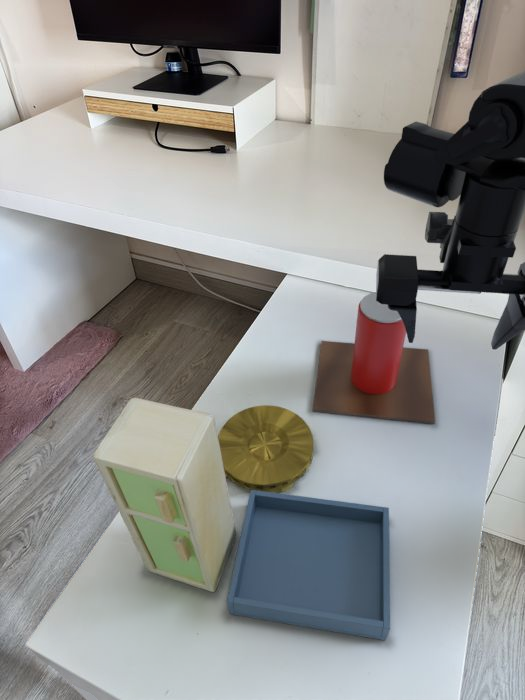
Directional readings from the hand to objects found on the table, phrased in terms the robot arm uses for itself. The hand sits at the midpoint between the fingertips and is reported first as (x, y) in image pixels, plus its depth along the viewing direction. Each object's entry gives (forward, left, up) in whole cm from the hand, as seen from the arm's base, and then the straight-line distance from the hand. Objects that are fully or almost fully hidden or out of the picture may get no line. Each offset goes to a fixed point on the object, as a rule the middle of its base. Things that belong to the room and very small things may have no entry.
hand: (451, 343), depth 58 cm
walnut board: (+8, -6, -13) cm, 16 cm away
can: (+8, -6, -12) cm, 16 cm away
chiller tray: (+14, +22, -13) cm, 29 cm away
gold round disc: (+21, +9, -13) cm, 26 cm away
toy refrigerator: (+27, +23, -13) cm, 38 cm away
